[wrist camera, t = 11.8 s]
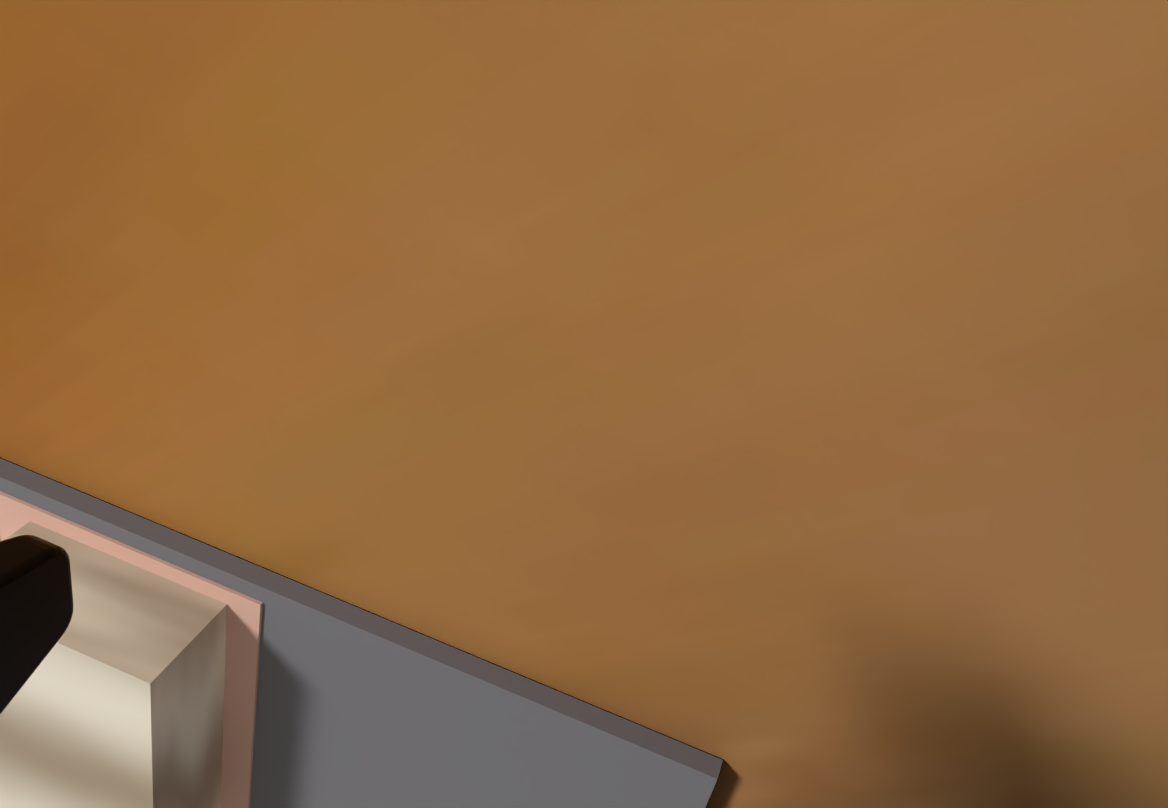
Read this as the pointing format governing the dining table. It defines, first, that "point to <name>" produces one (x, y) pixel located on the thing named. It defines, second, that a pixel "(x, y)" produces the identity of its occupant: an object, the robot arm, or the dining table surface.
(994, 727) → the dining table surface
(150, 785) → the block
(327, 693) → the mat
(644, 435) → the dining table surface
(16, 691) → the robot arm
